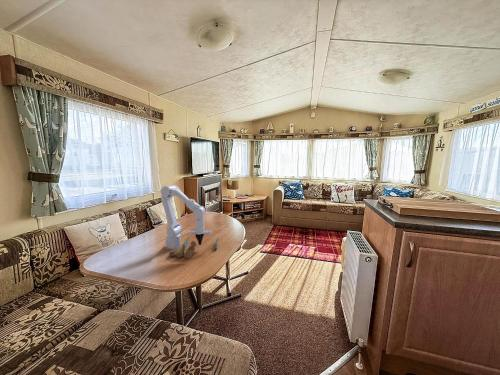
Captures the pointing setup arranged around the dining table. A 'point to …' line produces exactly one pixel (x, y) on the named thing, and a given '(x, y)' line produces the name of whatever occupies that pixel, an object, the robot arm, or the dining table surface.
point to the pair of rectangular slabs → (188, 244)
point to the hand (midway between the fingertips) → (200, 244)
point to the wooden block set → (181, 251)
